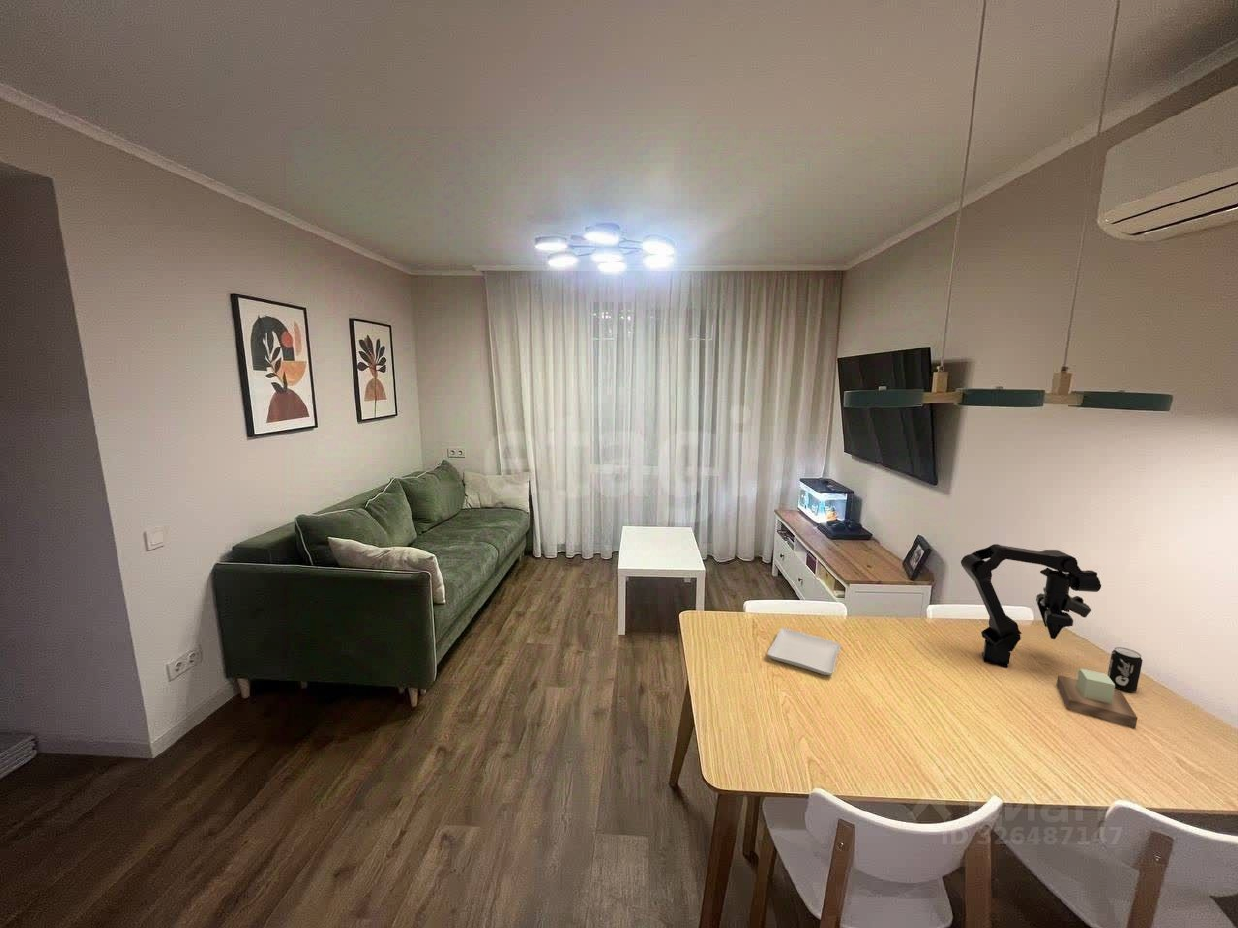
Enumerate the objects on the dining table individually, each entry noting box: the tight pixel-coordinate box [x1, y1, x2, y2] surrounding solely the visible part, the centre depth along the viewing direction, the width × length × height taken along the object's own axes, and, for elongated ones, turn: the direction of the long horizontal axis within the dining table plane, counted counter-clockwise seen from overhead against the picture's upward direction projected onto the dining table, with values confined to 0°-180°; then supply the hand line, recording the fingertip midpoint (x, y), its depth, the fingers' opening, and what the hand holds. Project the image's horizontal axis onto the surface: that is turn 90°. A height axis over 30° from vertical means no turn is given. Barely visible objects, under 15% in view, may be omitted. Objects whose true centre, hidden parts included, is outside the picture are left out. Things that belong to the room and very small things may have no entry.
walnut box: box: [1056, 674, 1138, 730], centre depth 139 cm, size 14×14×4 cm
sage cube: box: [1076, 668, 1116, 704], centre depth 138 cm, size 6×6×6 cm
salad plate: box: [766, 627, 842, 676], centre depth 164 cm, size 21×21×3 cm
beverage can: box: [1107, 646, 1143, 693], centre depth 147 cm, size 7×7×12 cm
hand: (1049, 632), depth 157 cm, fingers open, 9 cm apart
